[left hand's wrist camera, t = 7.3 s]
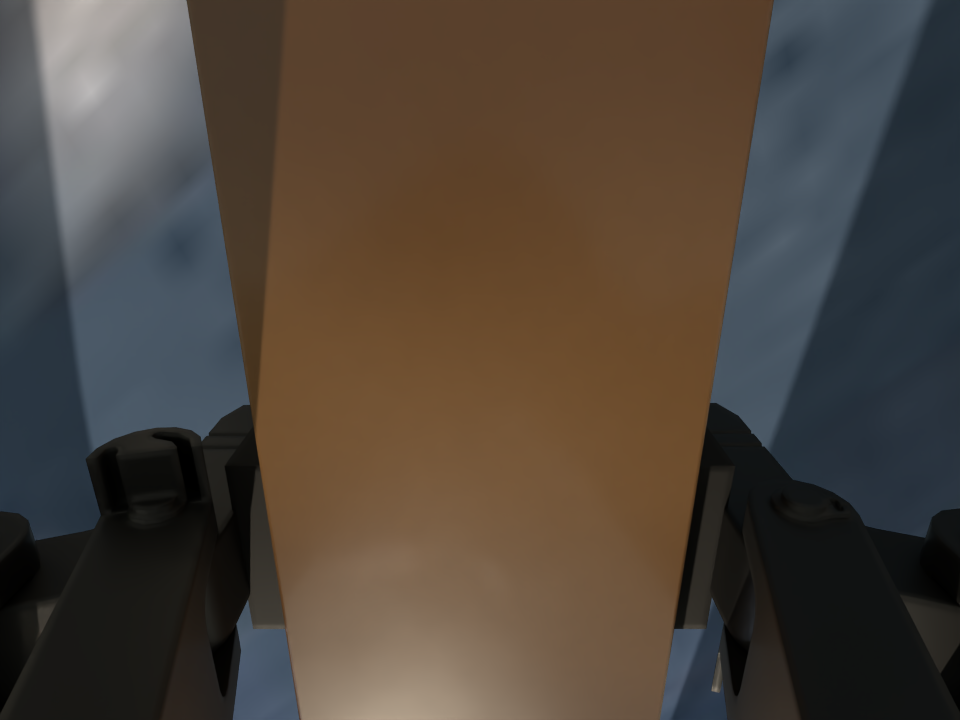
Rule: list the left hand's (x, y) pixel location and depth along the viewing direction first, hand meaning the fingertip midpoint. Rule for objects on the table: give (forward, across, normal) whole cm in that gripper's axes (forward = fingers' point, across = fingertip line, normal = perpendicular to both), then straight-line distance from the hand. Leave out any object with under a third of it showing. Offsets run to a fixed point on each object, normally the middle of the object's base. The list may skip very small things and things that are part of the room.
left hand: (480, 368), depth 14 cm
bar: (0, 0, -24) cm, 25 cm away
